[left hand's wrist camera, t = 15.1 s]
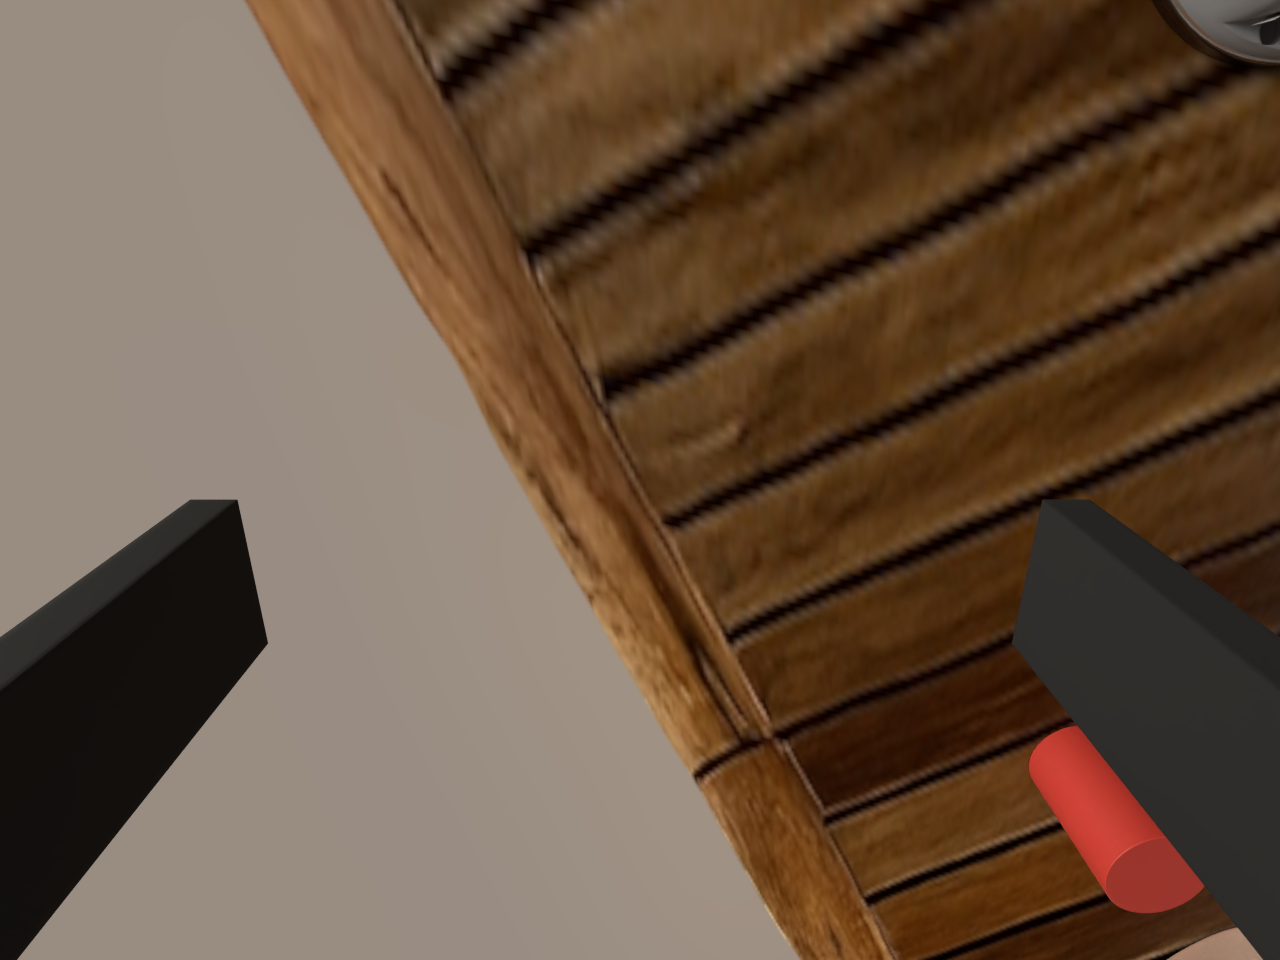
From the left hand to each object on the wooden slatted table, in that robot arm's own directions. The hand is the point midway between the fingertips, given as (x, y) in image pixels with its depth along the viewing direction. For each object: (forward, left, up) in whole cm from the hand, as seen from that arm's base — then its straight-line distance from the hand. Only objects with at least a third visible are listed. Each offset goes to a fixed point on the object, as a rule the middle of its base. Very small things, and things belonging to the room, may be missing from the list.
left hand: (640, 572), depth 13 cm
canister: (-9, +41, -30) cm, 52 cm away
